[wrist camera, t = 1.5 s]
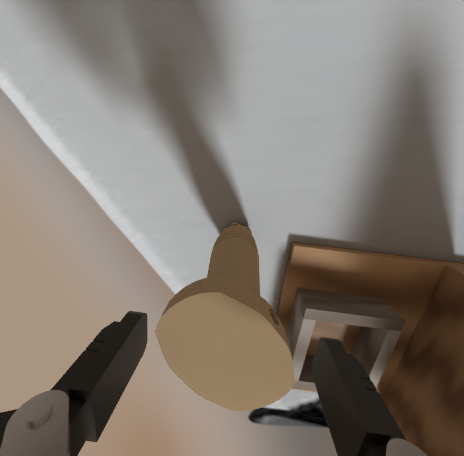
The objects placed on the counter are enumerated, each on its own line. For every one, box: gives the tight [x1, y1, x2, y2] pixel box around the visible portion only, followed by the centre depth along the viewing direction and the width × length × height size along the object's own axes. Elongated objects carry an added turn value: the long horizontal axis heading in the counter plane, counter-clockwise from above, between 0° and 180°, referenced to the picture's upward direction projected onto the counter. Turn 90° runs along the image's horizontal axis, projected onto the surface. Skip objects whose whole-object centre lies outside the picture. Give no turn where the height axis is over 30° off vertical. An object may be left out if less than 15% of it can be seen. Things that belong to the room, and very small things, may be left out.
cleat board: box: [277, 242, 464, 456], centre depth 16 cm, size 20×19×21 cm
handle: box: [155, 222, 295, 411], centre depth 16 cm, size 5×6×15 cm
